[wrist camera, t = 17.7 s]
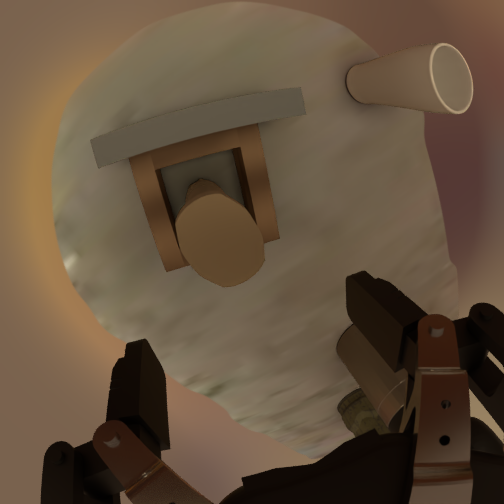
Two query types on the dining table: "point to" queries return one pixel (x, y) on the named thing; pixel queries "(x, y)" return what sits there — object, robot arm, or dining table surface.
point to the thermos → (360, 414)
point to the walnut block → (237, 139)
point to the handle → (218, 236)
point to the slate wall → (196, 123)
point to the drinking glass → (415, 80)
